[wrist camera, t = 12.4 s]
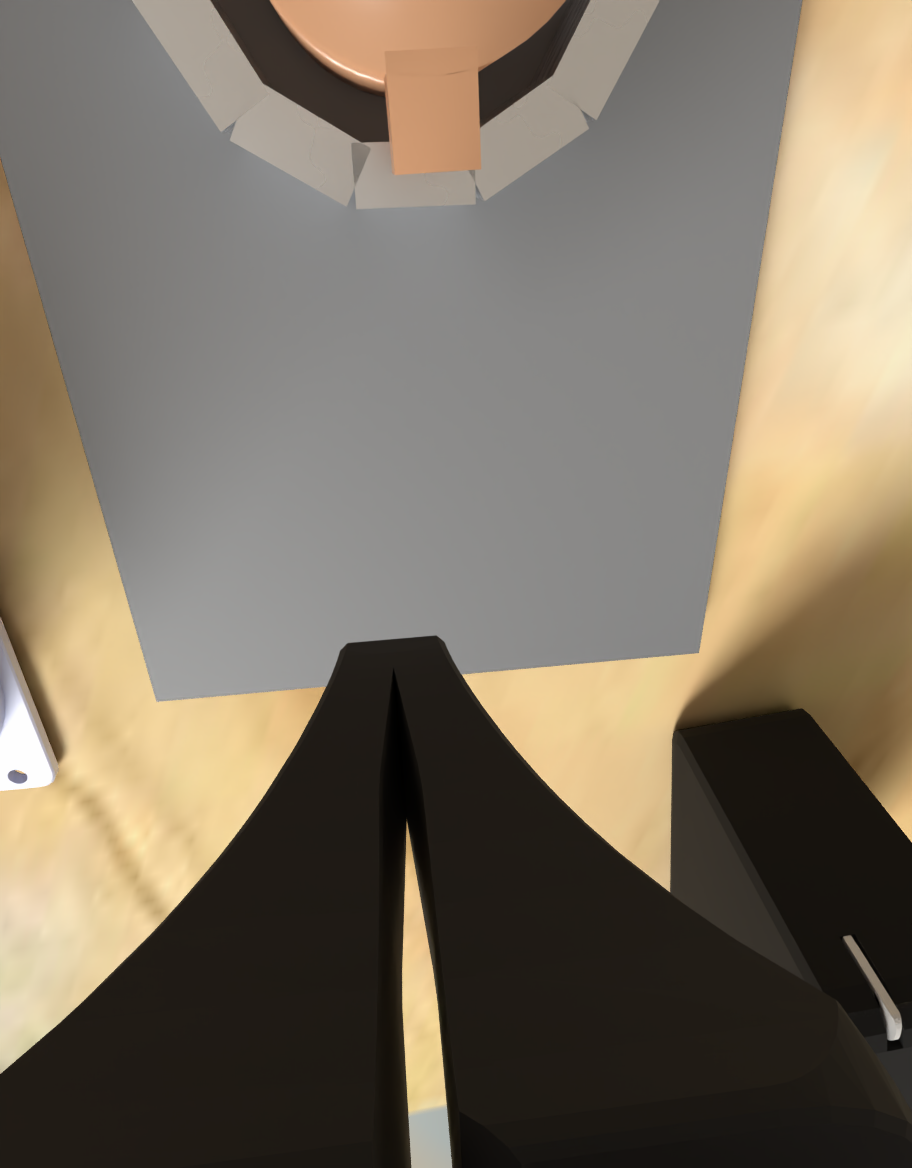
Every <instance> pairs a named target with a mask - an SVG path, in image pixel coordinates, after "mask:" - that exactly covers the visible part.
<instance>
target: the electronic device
mask: <svg viewBox="0 0 912 1168" xmlns="http://www.w3.org/2000/svg"><path fill="white" fill-rule="evenodd" d="M670 893H671V894H672V895H674V896H675V897H676V898H678V899H679V900H680V901H681V902H683V903H684V904H685V905H687V906H688V907H689V908H691V909H692V910H694V911H695V912H697V913H698V914H699V915H701V916H702V917H704V918H705V919H707V920H708V921H710V922H711V923H712V924H714V925H715V926H717V927H718V928H720V929H721V930H722V931H724V932H725V933H727V934H728V935H730V936H731V937H733V938H734V939H736V940H738V941H739V942H741V943H742V944H744V945H746V946H747V947H749V948H751V949H752V950H754V951H756V952H757V953H759V954H761V955H762V956H764V957H766V958H767V959H769V960H771V961H772V962H774V963H776V964H777V965H779V966H781V967H782V968H784V969H786V970H787V971H789V972H790V973H792V974H794V975H795V976H797V977H799V978H800V979H802V980H804V981H805V982H807V983H809V984H810V985H812V986H814V987H815V988H817V989H819V990H820V991H822V992H824V993H825V994H827V995H829V996H830V997H832V998H834V999H835V1000H837V1001H838V1002H839V1004H840V1005H841V1006H842V1008H843V1009H844V1011H845V1012H846V1013H847V1015H848V1016H849V1018H850V1019H851V1020H852V1022H853V1023H854V1025H855V1026H856V1027H857V1029H858V1030H859V1032H860V1033H861V1034H862V1036H863V1037H864V1039H865V1040H866V1041H867V1043H868V1044H869V1045H870V1047H871V1048H872V1050H873V1051H874V1053H875V1054H876V1055H877V1057H878V1058H879V1060H880V1061H881V1063H882V1064H883V1066H884V1067H885V1069H886V1070H887V1072H888V1073H889V1075H890V1076H891V1078H892V1079H893V1081H894V1082H895V1084H896V1086H897V1087H898V1089H899V1091H900V1092H901V1094H902V1096H903V1098H904V1099H905V1101H906V1103H907V1105H908V1106H909V1108H910V1110H911V1112H912V842H911V841H910V840H909V839H908V837H907V836H906V835H905V834H904V832H903V831H902V830H901V829H900V827H899V826H898V825H897V824H896V822H895V821H894V820H893V819H892V817H891V816H890V815H889V813H888V812H887V811H886V810H885V808H884V807H883V806H882V805H881V803H880V802H879V801H878V800H877V798H876V797H875V796H874V795H873V793H872V792H871V791H870V790H869V788H868V787H867V786H866V785H865V783H864V782H863V781H862V780H861V778H860V777H859V776H858V775H857V773H856V772H855V771H854V769H853V768H852V767H851V766H850V764H849V763H848V762H847V761H846V759H845V758H844V757H843V756H842V754H841V753H840V752H839V751H838V749H837V748H836V747H835V746H834V744H833V743H832V742H831V741H830V739H829V738H828V737H827V736H826V734H825V733H824V732H823V731H822V729H821V728H820V727H819V725H818V724H817V723H816V722H815V720H814V719H813V718H812V717H811V715H810V714H808V713H807V712H806V711H805V710H803V709H802V708H801V709H796V710H790V711H785V712H779V713H773V714H768V715H762V716H757V717H751V718H746V719H740V720H734V721H729V722H723V723H718V724H712V725H707V726H701V727H696V728H690V729H684V730H679V731H675V732H674V733H673V739H672V801H671V880H670Z"/></svg>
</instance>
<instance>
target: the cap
mask: <svg viewBox="0 0 912 1168" xmlns="http://www.w3.org/2000/svg"><path fill="white" fill-rule="evenodd" d="M565 1H566V0H270V2H271V4H272V5H273V7H274V8H275V10H276V12H277V13H278V15H279V17H280V18H281V20H282V22H283V23H284V25H285V26H286V27H287V29H288V30H289V32H290V33H291V35H292V36H293V37H294V39H295V40H296V41H297V43H298V44H299V45H300V46H301V47H302V48H303V49H304V50H305V52H306V53H307V54H308V55H309V56H310V57H311V58H312V59H313V60H314V61H316V62H317V63H318V64H319V65H320V66H321V67H322V68H324V69H325V70H326V71H327V72H329V73H330V74H332V75H333V76H335V77H336V78H338V79H339V80H341V81H342V82H344V83H346V84H348V85H350V86H352V87H354V88H357V89H359V90H362V91H365V92H368V93H371V94H374V95H378V96H384V97H386V107H387V119H388V130H389V142H390V154H391V165H392V173H393V174H394V175H403V174H419V173H434V172H449V171H464V170H479V169H481V146H480V116H479V86H478V72H479V71H481V70H482V69H484V68H485V67H487V66H488V65H490V64H491V63H493V62H494V61H496V60H498V59H499V58H501V57H502V56H504V55H505V54H507V53H508V52H510V51H511V50H513V49H514V48H516V47H517V46H519V45H520V44H522V43H523V42H525V41H526V40H527V39H529V38H530V37H531V36H532V35H533V34H534V33H535V32H536V31H538V30H539V29H540V28H541V27H542V26H543V25H544V24H545V23H547V22H548V21H549V19H550V18H551V17H552V16H553V15H554V14H555V13H556V11H557V10H558V9H559V8H560V7H561V6H562V4H563V3H564V2H565Z"/></svg>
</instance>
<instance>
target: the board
mask: <svg viewBox="0 0 912 1168" xmlns="http://www.w3.org/2000/svg"><path fill="white" fill-rule="evenodd" d="M570 1H571V0H566V1H565V2H564V3H563V4H562V6H561V7H560V8H559V9H558V10H557V11H556V13H555V14H554V15H553V16H552V17H551V18H550V19H549V21H548V22H547V23H545V24H544V25H543V26H542V27H541V28H540V29H539V30H538V31H536V32H535V33H534V34H533V35H532V36H531V37H530V38H529V39H527V40H526V41H525V42H523V43H522V44H520V45H519V46H517V47H516V48H514V49H513V50H511V51H510V52H508V53H507V54H505V55H504V56H502V57H501V58H499V59H498V60H496V61H494V62H493V63H491V64H490V65H488V66H487V67H485V68H484V69H482V70H481V71H479V72H478V86H479V116H480V120H481V119H482V118H484V117H485V116H487V115H488V114H489V113H491V112H492V111H493V110H495V109H496V108H498V107H499V106H500V105H502V104H503V103H505V102H506V101H507V100H509V99H510V98H512V97H513V96H514V95H516V94H517V93H518V92H520V91H521V90H523V89H524V88H525V87H527V86H528V85H530V83H531V81H532V79H533V77H534V75H535V73H536V71H537V69H538V67H539V65H540V63H541V61H542V58H543V56H544V54H545V52H546V50H547V48H548V46H549V44H550V42H551V40H552V38H553V36H554V34H555V32H556V30H557V28H558V26H559V23H560V21H561V19H562V17H563V15H564V13H565V11H566V9H567V7H568V5H569V3H570ZM218 2H219V3H220V5H221V7H222V8H223V10H224V11H225V13H226V15H227V16H228V18H229V19H230V21H231V23H232V24H233V26H234V27H235V29H236V31H237V32H238V34H239V35H240V37H241V39H242V40H243V42H244V43H245V45H246V47H247V48H248V50H249V51H250V53H251V55H252V56H253V58H254V59H255V61H256V63H257V64H258V66H259V67H260V69H261V71H262V72H263V74H264V75H265V77H266V79H267V80H268V82H269V83H270V85H271V87H272V88H273V90H275V91H276V92H278V93H280V94H281V95H283V96H285V97H286V98H288V99H290V100H291V101H293V102H295V103H296V104H298V105H300V106H301V107H303V108H305V109H306V110H308V111H310V112H311V113H313V114H315V115H316V116H318V117H320V118H321V119H323V120H325V121H326V122H328V123H330V124H331V125H333V126H335V127H336V128H338V129H340V130H341V131H343V132H345V133H346V134H348V135H350V136H351V137H353V138H355V139H356V140H358V141H360V142H361V143H365V142H389V130H388V119H387V107H386V97H384V96H378V95H374V94H371V93H368V92H365V91H362V90H359V89H357V88H354V87H352V86H350V85H348V84H346V83H344V82H342V81H341V80H339V79H338V78H336V77H335V76H333V75H332V74H330V73H329V72H327V71H326V70H325V69H324V68H322V67H321V66H320V65H319V64H318V63H317V62H316V61H314V60H313V59H312V58H311V57H310V56H309V55H308V54H307V53H306V52H305V50H304V49H303V48H302V47H301V46H300V45H299V44H298V43H297V41H296V40H295V39H294V37H293V36H292V35H291V33H290V32H289V30H288V29H287V27H286V26H285V25H284V23H283V22H282V20H281V18H280V17H279V15H278V13H277V12H276V10H275V8H274V7H273V5H272V4H271V2H270V0H218ZM801 6H802V0H660V1H659V3H658V5H657V7H656V9H655V10H654V12H653V14H652V16H651V18H650V20H649V22H648V24H647V26H646V27H645V29H644V31H643V33H642V35H641V37H640V39H639V41H638V43H637V44H636V46H635V48H634V50H633V52H632V54H631V56H630V58H629V60H628V62H627V63H626V65H625V67H624V69H623V71H622V73H621V75H620V77H619V79H618V80H617V82H616V84H615V86H614V88H613V90H612V92H611V94H610V96H609V97H608V99H607V101H606V103H605V105H604V107H603V109H602V111H601V113H600V115H599V116H598V118H597V120H593V121H586V123H587V125H588V127H589V129H588V130H586V131H585V132H584V133H582V134H581V135H579V136H578V137H576V138H575V139H574V140H572V141H571V142H569V143H568V144H566V145H565V146H563V147H562V148H561V149H559V150H558V151H556V152H555V153H553V154H552V155H551V156H549V157H548V158H546V159H545V160H543V161H542V162H540V163H539V164H538V165H536V166H535V167H533V168H532V169H530V170H529V171H528V172H526V173H525V174H523V175H522V176H520V177H519V178H518V179H516V180H515V181H513V182H512V183H510V184H509V185H507V186H506V187H505V188H503V189H502V190H500V191H499V192H497V193H496V194H495V195H493V196H492V197H490V198H489V199H487V200H486V201H483V200H481V199H479V198H476V204H472V205H447V206H422V207H397V208H373V209H356V198H355V188H354V190H353V193H352V195H351V198H350V200H349V202H348V205H347V207H346V206H344V205H343V204H341V203H339V202H337V201H336V200H334V199H332V198H330V197H329V196H327V195H325V194H323V193H321V192H320V191H318V190H316V189H314V188H313V187H311V186H309V185H307V184H306V183H304V182H302V181H300V180H299V179H297V178H295V177H293V176H291V175H290V174H288V173H286V172H284V171H283V170H281V169H279V168H277V167H276V166H274V165H272V164H270V163H269V162H267V161H265V160H263V159H261V158H260V157H258V156H256V155H254V154H253V153H251V152H249V151H247V150H246V149H244V148H242V147H240V146H239V145H237V144H235V143H233V142H231V141H230V138H231V135H232V133H224V132H220V130H219V129H218V127H217V126H216V124H215V123H214V121H213V120H212V118H211V117H210V115H209V114H208V112H207V111H206V109H205V108H204V107H203V105H202V104H201V102H200V101H199V99H198V98H197V96H196V95H195V93H194V92H193V90H192V89H191V87H190V86H189V84H188V83H187V81H186V80H185V78H184V77H183V75H182V74H181V72H180V71H179V69H178V68H177V67H176V65H175V64H174V62H173V61H172V59H171V58H170V56H169V55H168V53H167V52H166V50H165V49H164V47H163V46H162V44H161V43H160V41H159V40H158V38H157V37H156V35H155V34H154V32H153V31H152V29H151V28H150V27H149V25H148V24H147V22H146V21H145V19H144V18H143V16H142V15H141V13H140V12H139V10H138V9H137V7H136V6H135V4H134V3H133V1H132V0H0V158H1V161H2V165H3V168H4V172H5V175H6V179H7V182H8V186H9V189H10V193H11V196H12V200H13V203H14V207H15V210H16V214H17V217H18V221H19V224H20V228H21V231H22V235H23V238H24V242H25V245H26V248H27V252H28V255H29V259H30V262H31V266H32V269H33V273H34V276H35V280H36V283H37V287H38V290H39V294H40V297H41V301H42V304H43V308H44V311H45V315H46V318H47V322H48V325H49V329H50V332H51V336H52V339H53V342H54V346H55V349H56V353H57V356H58V360H59V363H60V367H61V370H62V374H63V377H64V381H65V384H66V388H67V391H68V395H69V398H70V402H71V405H72V409H73V412H74V416H75V419H76V423H77V426H78V430H79V433H80V436H81V440H82V443H83V447H84V450H85V454H86V457H87V461H88V464H89V468H90V471H91V475H92V478H93V482H94V485H95V489H96V492H97V496H98V499H99V503H100V506H101V510H102V513H103V517H104V520H105V524H106V527H107V530H108V534H109V537H110V541H111V544H112V548H113V551H114V555H115V558H116V562H117V565H118V569H119V572H120V576H121V579H122V583H123V586H124V590H125V593H126V597H127V600H128V604H129V607H130V611H131V614H132V618H133V621H134V624H135V628H136V631H137V635H138V638H139V642H140V645H141V649H142V652H143V656H144V659H145V663H146V666H147V670H148V673H149V677H150V680H151V684H152V687H153V691H154V694H155V698H156V701H157V702H159V701H170V700H182V699H193V698H204V697H215V696H226V695H237V694H248V693H259V692H270V691H282V690H293V689H304V688H315V687H326V686H327V684H328V682H329V680H330V677H331V675H332V672H333V670H334V667H335V665H336V662H337V659H338V656H339V653H340V650H341V649H342V648H343V647H344V646H345V645H346V644H347V643H353V642H365V641H376V640H388V639H400V638H411V637H423V636H435V635H437V636H438V637H439V638H440V639H442V640H443V641H444V642H445V644H446V647H447V649H448V651H449V653H450V655H451V657H452V659H453V661H454V663H455V665H456V666H457V668H458V670H459V671H460V673H461V674H471V673H482V672H493V671H504V670H515V669H526V668H537V667H548V666H559V665H571V664H582V663H593V662H604V661H615V660H626V659H637V658H648V657H660V656H671V655H682V654H693V653H699V649H700V643H701V636H702V630H703V624H704V618H705V611H706V605H707V599H708V592H709V586H710V580H711V573H712V567H713V561H714V554H715V548H716V542H717V536H718V529H719V523H720V517H721V510H722V504H723V498H724V491H725V485H726V479H727V472H728V466H729V460H730V454H731V447H732V441H733V435H734V428H735V422H736V416H737V409H738V403H739V397H740V390H741V384H742V378H743V372H744V365H745V359H746V353H747V346H748V340H749V334H750V327H751V321H752V315H753V308H754V302H755V296H756V290H757V283H758V277H759V271H760V264H761V258H762V252H763V245H764V239H765V233H766V226H767V220H768V214H769V208H770V201H771V195H772V189H773V182H774V176H775V170H776V163H777V157H778V151H779V144H780V138H781V132H782V126H783V119H784V113H785V107H786V100H787V94H788V88H789V81H790V75H791V69H792V62H793V56H794V50H795V44H796V37H797V31H798V25H799V18H800V12H801Z"/></svg>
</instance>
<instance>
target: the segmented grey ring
mask: <svg viewBox="0 0 912 1168" xmlns="http://www.w3.org/2000/svg"><path fill="white" fill-rule="evenodd" d="M132 1H133V3H134V4H135V6H136V7H137V9H138V10H139V12H140V13H141V15H142V16H143V18H144V19H145V21H146V22H147V24H148V25H149V27H150V28H151V29H152V31H153V32H154V34H155V35H156V37H157V38H158V40H159V41H160V43H161V44H162V46H163V47H164V49H165V50H166V52H167V53H168V55H169V56H170V58H171V59H172V61H173V62H174V64H175V65H176V67H177V68H178V69H179V71H180V72H181V74H182V75H183V77H184V78H185V80H186V81H187V83H188V84H189V86H190V87H191V89H192V90H193V92H194V93H195V95H196V96H197V98H198V99H199V101H200V102H201V104H202V105H203V107H204V108H205V109H206V111H207V112H208V114H209V115H210V117H211V118H212V120H213V121H214V123H215V124H216V126H217V127H218V129H219V130H220V132H224V133H232V135H231V138H230V141H231V142H233V143H235V144H237V145H239V146H240V147H242V148H244V149H246V150H247V151H249V152H251V153H253V154H254V155H256V156H258V157H260V158H261V159H263V160H265V161H267V162H269V163H270V164H272V165H274V166H276V167H277V168H279V169H281V170H283V171H284V172H286V173H288V174H290V175H291V176H293V177H295V178H297V179H299V180H300V181H302V182H304V183H306V184H307V185H309V186H311V187H313V188H314V189H316V190H318V191H320V192H321V193H323V194H325V195H327V196H329V197H330V198H332V199H334V200H336V201H337V202H339V203H341V204H343V205H344V206H346V207H347V205H348V202H349V200H350V198H351V195H352V193H353V190H354V188H355V198H356V209H373V208H397V207H422V206H447V205H472V204H476V198H479V199H481V200H483V201H486V200H487V199H489V198H490V197H492V196H493V195H495V194H496V193H497V192H499V191H500V190H502V189H503V188H505V187H506V186H507V185H509V184H510V183H512V182H513V181H515V180H516V179H518V178H519V177H520V176H522V175H523V174H525V173H526V172H528V171H529V170H530V169H532V168H533V167H535V166H536V165H538V164H539V163H540V162H542V161H543V160H545V159H546V158H548V157H549V156H551V155H552V154H553V153H555V152H556V151H558V150H559V149H561V148H562V147H563V146H565V145H566V144H568V143H569V142H571V141H572V140H574V139H575V138H576V137H578V136H579V135H581V134H582V133H584V132H585V131H586V130H588V129H589V127H588V125H587V123H586V121H593V120H597V118H598V116H599V115H600V113H601V111H602V109H603V107H604V105H605V103H606V101H607V99H608V97H609V96H610V94H611V92H612V90H613V88H614V86H615V84H616V82H617V80H618V79H619V77H620V75H621V73H622V71H623V69H624V67H625V65H626V63H627V62H628V60H629V58H630V56H631V54H632V52H633V50H634V48H635V46H636V44H637V43H638V41H639V39H640V37H641V35H642V33H643V31H644V29H645V27H646V26H647V24H648V22H649V20H650V18H651V16H652V14H653V12H654V10H655V9H656V7H657V5H658V3H659V1H660V0H571V1H570V3H569V5H568V7H567V9H566V11H565V13H564V15H563V17H562V19H561V21H560V23H559V26H558V28H557V30H556V32H555V34H554V36H553V38H552V40H551V42H550V44H549V46H548V48H547V50H546V52H545V54H544V56H543V58H542V61H541V63H540V65H539V67H538V69H537V71H536V73H535V75H534V77H533V79H532V81H531V83H530V85H528V86H527V87H525V88H524V89H523V90H521V91H520V92H518V93H517V94H516V95H514V96H513V97H512V98H510V99H509V100H507V101H506V102H505V103H503V104H502V105H500V106H499V107H498V108H496V109H495V110H493V111H492V112H491V113H489V114H488V115H487V116H485V117H484V118H482V119H481V120H480V146H481V169H479V170H464V171H449V172H434V173H419V174H403V175H394V174H393V173H392V165H391V154H390V142H365V143H361V142H360V141H358V140H356V139H355V138H353V137H351V136H350V135H348V134H346V133H345V132H343V131H341V130H340V129H338V128H336V127H335V126H333V125H331V124H330V123H328V122H326V121H325V120H323V119H321V118H320V117H318V116H316V115H315V114H313V113H311V112H310V111H308V110H306V109H305V108H303V107H301V106H300V105H298V104H296V103H295V102H293V101H291V100H290V99H288V98H286V97H285V96H283V95H281V94H280V93H278V92H276V91H275V90H273V88H272V87H271V85H270V83H269V82H268V80H267V79H266V77H265V75H264V74H263V72H262V71H261V69H260V67H259V66H258V64H257V63H256V61H255V59H254V58H253V56H252V55H251V53H250V51H249V50H248V48H247V47H246V45H245V43H244V42H243V40H242V39H241V37H240V35H239V34H238V32H237V31H236V29H235V27H234V26H233V24H232V23H231V21H230V19H229V18H228V16H227V15H226V13H225V11H224V10H223V8H222V7H221V5H220V3H219V2H218V0H132Z"/></svg>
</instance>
